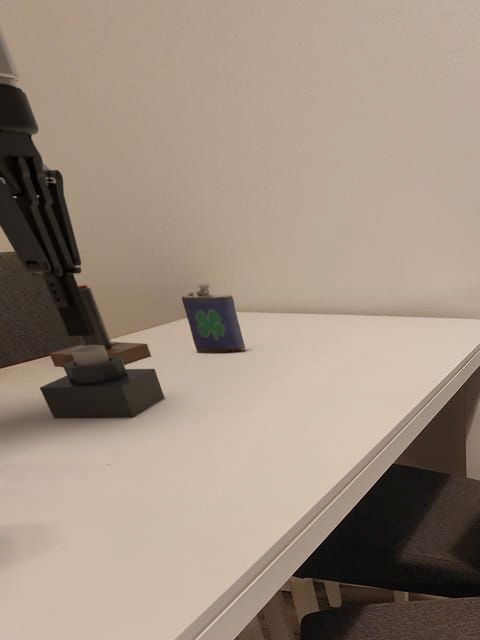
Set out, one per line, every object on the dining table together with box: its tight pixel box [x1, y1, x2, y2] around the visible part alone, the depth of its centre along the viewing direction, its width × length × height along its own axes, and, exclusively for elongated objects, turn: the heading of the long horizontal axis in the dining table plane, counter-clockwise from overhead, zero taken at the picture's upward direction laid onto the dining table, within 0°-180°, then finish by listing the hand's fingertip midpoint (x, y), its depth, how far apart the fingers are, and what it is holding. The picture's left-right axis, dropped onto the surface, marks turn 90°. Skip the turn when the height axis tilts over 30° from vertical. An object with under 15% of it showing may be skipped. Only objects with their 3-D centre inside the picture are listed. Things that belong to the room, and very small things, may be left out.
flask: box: [181, 283, 246, 354], centre depth 105 cm, size 9×3×11 cm, turn 85°
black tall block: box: [78, 284, 113, 349], centre depth 100 cm, size 4×4×9 cm
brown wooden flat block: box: [49, 341, 152, 367], centre depth 104 cm, size 12×10×2 cm
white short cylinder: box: [71, 345, 110, 366], centre depth 77 cm, size 4×4×2 cm
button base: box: [39, 356, 165, 420], centre depth 80 cm, size 11×9×6 cm
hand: (82, 334), depth 76 cm, fingers closed
